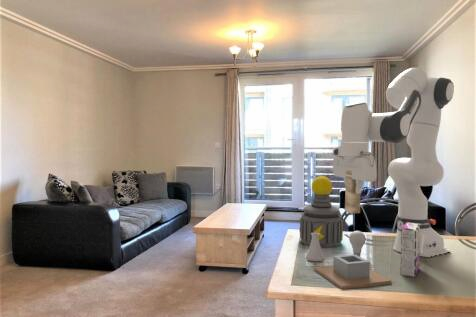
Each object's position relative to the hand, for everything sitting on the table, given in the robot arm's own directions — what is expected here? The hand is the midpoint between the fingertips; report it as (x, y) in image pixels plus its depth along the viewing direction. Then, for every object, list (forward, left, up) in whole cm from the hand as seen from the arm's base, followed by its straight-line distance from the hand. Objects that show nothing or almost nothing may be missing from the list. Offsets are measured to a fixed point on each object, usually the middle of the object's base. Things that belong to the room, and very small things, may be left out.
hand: (353, 192), depth 125 cm
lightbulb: (-13, -16, -29) cm, 35 cm away
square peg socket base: (0, 0, -28) cm, 28 cm away
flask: (+3, -20, -29) cm, 35 cm away
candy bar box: (-23, +1, -29) cm, 37 cm away
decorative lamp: (-11, -41, -29) cm, 51 cm away
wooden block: (0, 0, -7) cm, 7 cm away
